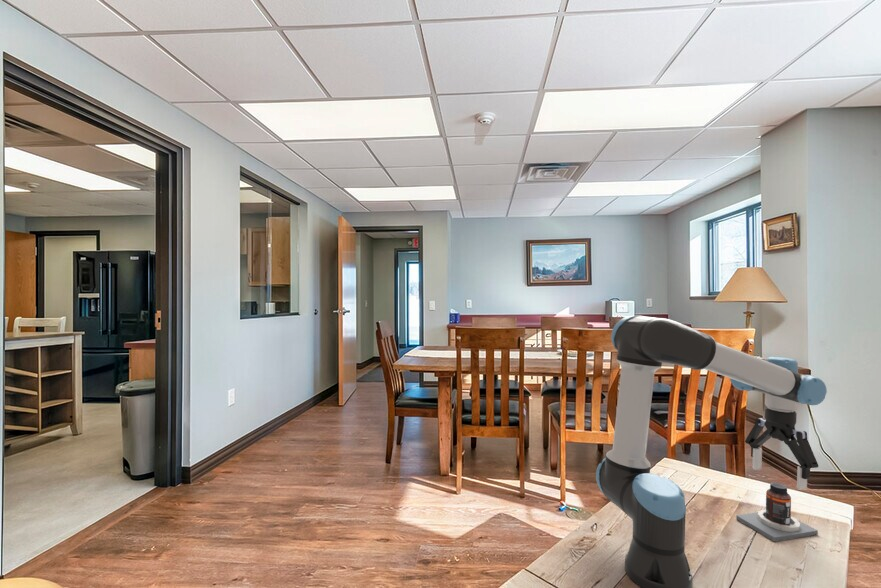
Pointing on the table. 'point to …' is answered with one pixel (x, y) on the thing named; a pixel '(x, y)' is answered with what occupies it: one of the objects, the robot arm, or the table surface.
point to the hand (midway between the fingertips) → (778, 478)
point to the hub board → (776, 527)
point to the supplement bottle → (778, 504)
